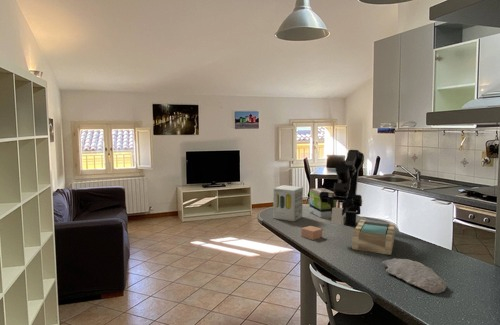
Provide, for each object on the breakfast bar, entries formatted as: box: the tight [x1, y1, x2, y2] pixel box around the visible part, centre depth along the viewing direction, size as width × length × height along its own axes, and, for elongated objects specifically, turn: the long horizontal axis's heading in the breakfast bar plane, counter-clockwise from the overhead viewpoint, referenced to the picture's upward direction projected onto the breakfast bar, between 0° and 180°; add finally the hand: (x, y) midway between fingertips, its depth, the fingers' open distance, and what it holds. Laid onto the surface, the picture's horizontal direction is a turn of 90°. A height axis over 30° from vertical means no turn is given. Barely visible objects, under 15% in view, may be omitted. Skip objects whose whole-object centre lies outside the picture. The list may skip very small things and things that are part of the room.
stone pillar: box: [330, 207, 345, 226], centre depth 160 cm, size 4×4×7 cm
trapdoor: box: [361, 219, 389, 235], centre depth 159 cm, size 18×10×3 cm, turn 155°
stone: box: [381, 258, 447, 294], centre depth 124 cm, size 16×6×25 cm
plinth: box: [300, 225, 323, 241], centre depth 169 cm, size 7×7×4 cm
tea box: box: [308, 187, 337, 219], centre depth 211 cm, size 15×10×15 cm
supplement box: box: [272, 184, 304, 222], centre depth 203 cm, size 13×13×18 cm
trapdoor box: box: [351, 219, 396, 256], centre depth 160 cm, size 23×16×7 cm
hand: (337, 214), depth 159 cm, fingers closed on stone pillar, 4 cm apart
